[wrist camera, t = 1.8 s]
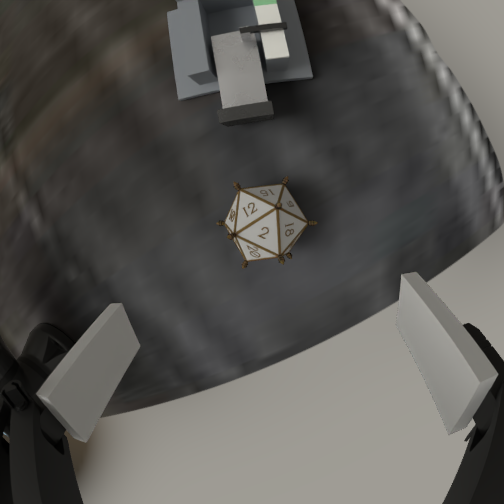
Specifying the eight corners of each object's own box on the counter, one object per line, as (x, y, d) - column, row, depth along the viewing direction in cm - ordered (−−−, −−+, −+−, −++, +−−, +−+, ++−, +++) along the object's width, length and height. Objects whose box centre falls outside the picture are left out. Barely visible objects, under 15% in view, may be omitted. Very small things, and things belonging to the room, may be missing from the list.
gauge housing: (181, 100, 26) (160, 92, 20) (169, 15, 22) (150, -5, 16) (311, 79, 24) (320, 63, 19) (290, -8, 20) (292, -34, 14)
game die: (280, 214, 34) (314, 282, 28) (211, 225, 32) (233, 300, 26) (293, 152, 27) (342, 220, 21) (210, 159, 25) (236, 237, 19)
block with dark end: (228, 126, 26) (217, 122, 21) (214, 47, 22) (202, 29, 18) (298, 116, 25) (304, 109, 20) (282, 36, 22) (284, 15, 17)
